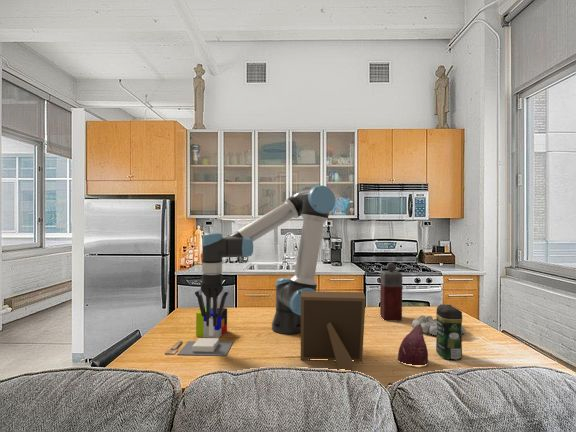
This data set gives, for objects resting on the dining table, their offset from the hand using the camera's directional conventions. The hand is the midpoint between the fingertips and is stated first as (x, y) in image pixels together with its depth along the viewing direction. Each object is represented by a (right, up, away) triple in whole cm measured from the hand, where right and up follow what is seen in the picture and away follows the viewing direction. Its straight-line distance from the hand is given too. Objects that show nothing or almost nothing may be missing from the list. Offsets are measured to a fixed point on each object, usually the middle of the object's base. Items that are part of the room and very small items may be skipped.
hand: (211, 334), depth 142 cm
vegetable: (+74, -7, -11) cm, 75 cm away
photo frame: (+45, -6, -14) cm, 47 cm away
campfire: (+97, -7, +24) cm, 100 cm away
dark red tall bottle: (+81, -6, +45) cm, 93 cm away
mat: (-2, -5, 0) cm, 6 cm away
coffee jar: (+89, -7, -5) cm, 89 cm away
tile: (+2, -4, 0) cm, 4 cm away
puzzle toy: (-4, -6, +18) cm, 19 cm away
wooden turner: (-14, -6, 0) cm, 15 cm away
